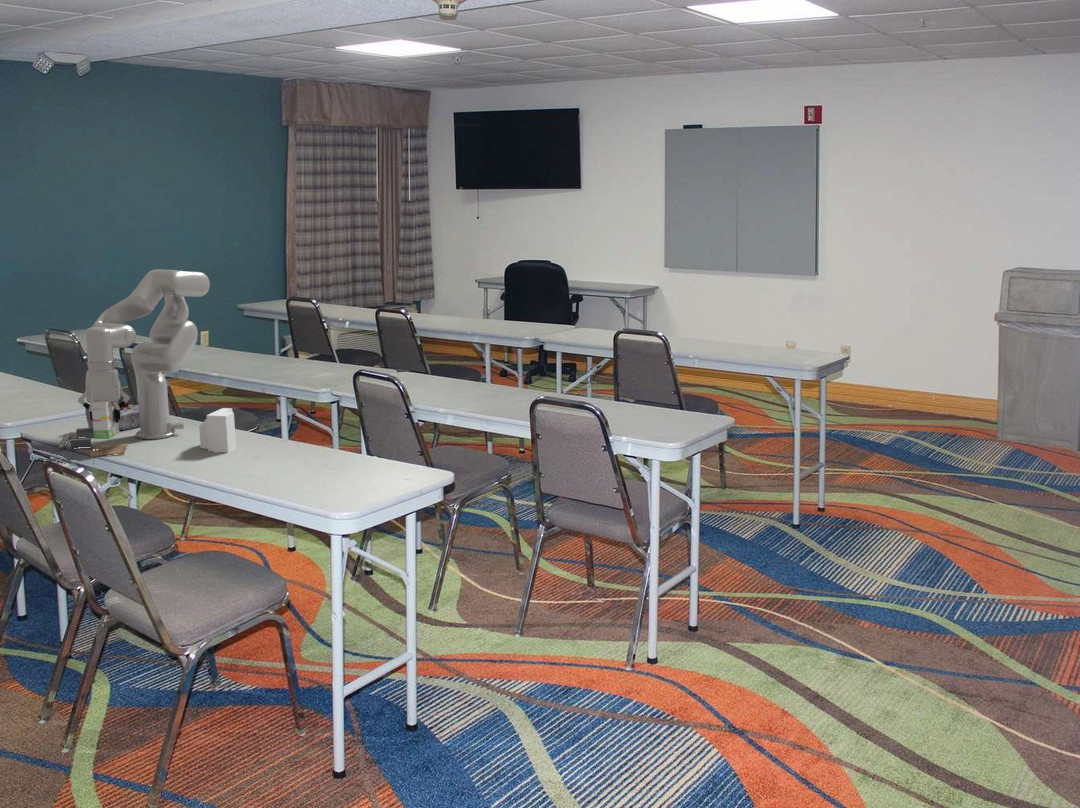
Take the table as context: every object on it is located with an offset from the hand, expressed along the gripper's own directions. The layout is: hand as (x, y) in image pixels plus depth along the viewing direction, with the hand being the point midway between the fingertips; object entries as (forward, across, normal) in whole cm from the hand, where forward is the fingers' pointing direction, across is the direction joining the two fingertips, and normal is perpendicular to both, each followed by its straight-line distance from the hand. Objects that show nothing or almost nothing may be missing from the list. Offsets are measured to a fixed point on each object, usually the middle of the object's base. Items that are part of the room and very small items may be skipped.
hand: (105, 421), depth 334 cm
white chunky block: (+10, -34, +5) cm, 36 cm away
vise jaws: (+10, +11, -14) cm, 20 cm away
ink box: (+5, 0, 0) cm, 5 cm away
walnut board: (+10, 0, 0) cm, 10 cm away
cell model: (+10, 0, -33) cm, 34 cm away
